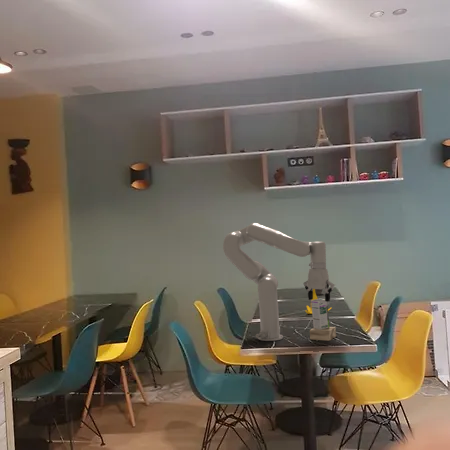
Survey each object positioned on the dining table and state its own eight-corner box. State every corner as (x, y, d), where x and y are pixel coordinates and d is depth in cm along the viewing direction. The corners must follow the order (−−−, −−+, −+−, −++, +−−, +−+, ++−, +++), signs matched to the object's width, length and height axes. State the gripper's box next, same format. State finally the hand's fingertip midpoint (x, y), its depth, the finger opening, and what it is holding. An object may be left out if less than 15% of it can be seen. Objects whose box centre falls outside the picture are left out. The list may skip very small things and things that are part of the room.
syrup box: (321, 330, 254) (318, 300, 254) (313, 328, 259) (310, 299, 259) (329, 328, 257) (327, 299, 257) (322, 326, 262) (319, 298, 262)
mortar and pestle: (322, 296, 401) (320, 270, 401) (302, 295, 410) (301, 270, 410) (329, 293, 413) (327, 268, 413) (309, 293, 422) (308, 268, 423)
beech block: (329, 341, 251) (329, 331, 251) (310, 340, 256) (309, 330, 256) (336, 337, 259) (335, 327, 259) (317, 335, 264) (316, 326, 264)
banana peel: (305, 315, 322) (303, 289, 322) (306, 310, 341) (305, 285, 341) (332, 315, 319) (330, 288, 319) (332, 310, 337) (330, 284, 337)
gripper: (299, 266, 261) (300, 299, 261) (329, 267, 249) (330, 302, 249) (307, 264, 266) (308, 298, 266) (337, 266, 255) (338, 300, 255)
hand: (319, 300), depth 258 cm, fingers open, 9 cm apart
